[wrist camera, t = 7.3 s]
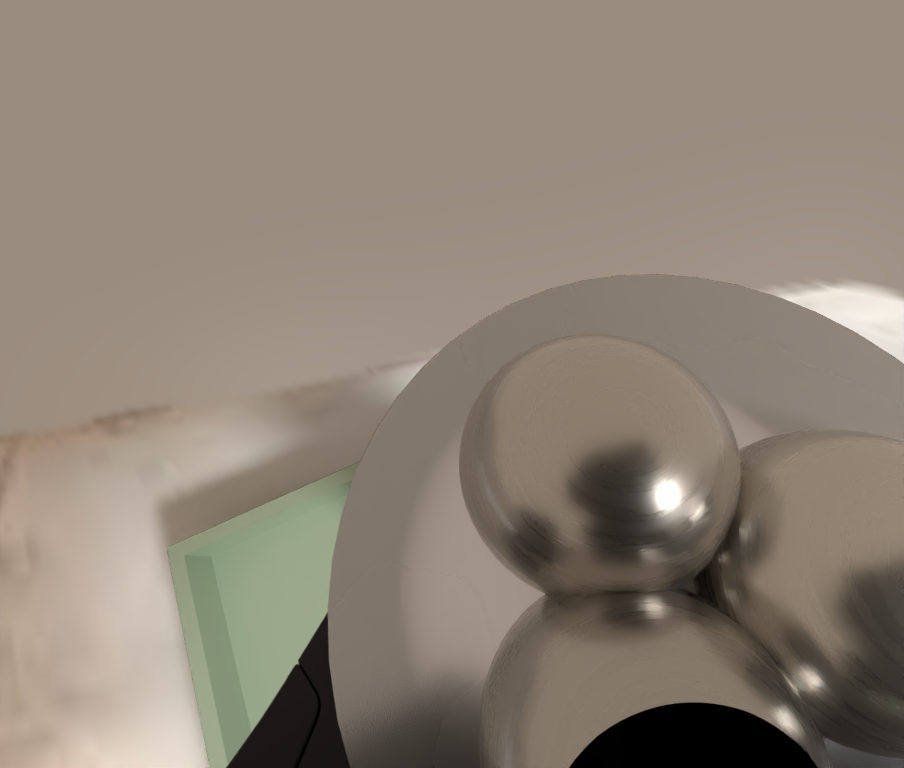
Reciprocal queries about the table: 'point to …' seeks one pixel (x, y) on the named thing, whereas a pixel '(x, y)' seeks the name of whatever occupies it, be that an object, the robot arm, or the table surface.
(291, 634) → the tray
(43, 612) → the table surface
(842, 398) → the pebble canister
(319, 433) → the table surface
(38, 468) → the table surface
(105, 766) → the table surface
